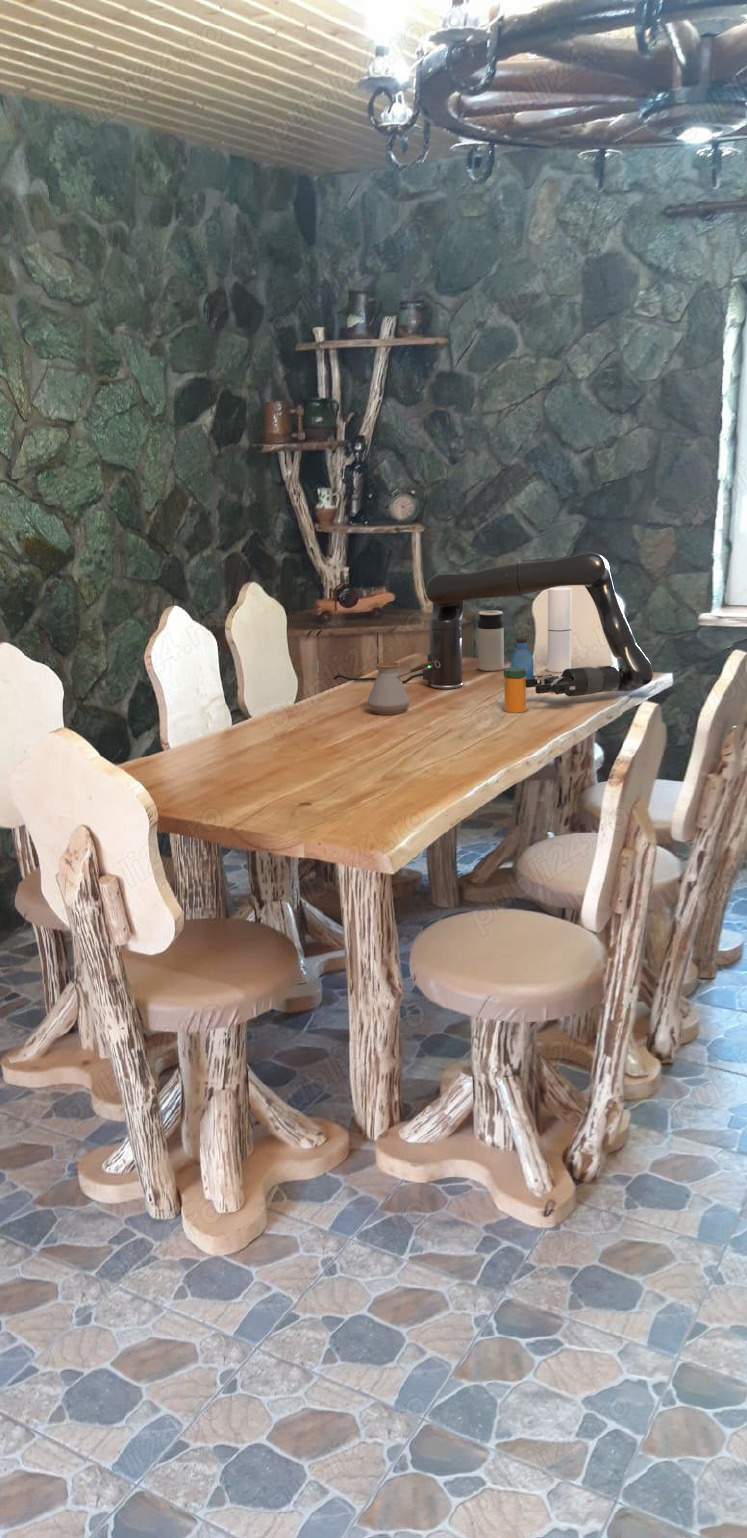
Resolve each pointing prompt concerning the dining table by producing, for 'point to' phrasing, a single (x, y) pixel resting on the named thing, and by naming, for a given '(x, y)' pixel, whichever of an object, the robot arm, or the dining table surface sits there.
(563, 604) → the cylindrical container
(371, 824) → the dining table surface
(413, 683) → the dining table surface
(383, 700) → the coffee pot
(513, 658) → the perfume bottle
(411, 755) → the dining table surface
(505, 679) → the honey jar
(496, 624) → the travel mug
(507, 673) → the honey lid
